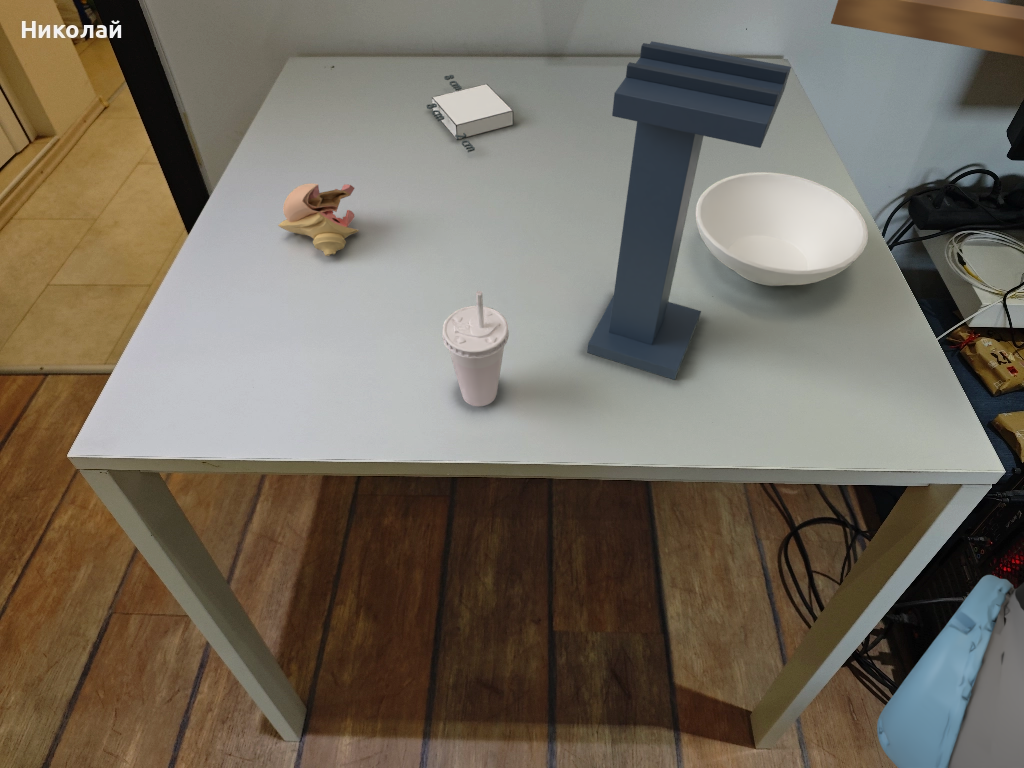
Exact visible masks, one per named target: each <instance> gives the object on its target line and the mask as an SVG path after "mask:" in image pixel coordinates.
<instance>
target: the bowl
mask: <svg viewBox="0 0 1024 768" xmlns="http://www.w3.org/2000/svg"><path fill="white" fill-rule="evenodd" d="M695 222H696V227H697V229H698V233H699V234H700V235H699V236H700V238H701V239H702V241H703V243H704V244H705V246H706V247H707V249H708V250H709V252H710V253H711V255H712V256H714V258H716V259H717V261H719V262H720V263H721V264H723V265H724V266H726V267H727V268H728V269H730V270H732V271H734V272H735V273H736V274H738V275H739V276H740V277H742V278H744V279H746V280H747V281H750V282H753V283H755V284H759V285H762V286H769V287H770V286H771V287H782V286H802V285H809V284H814V283H818V282H821V281H823V280H827V279H829V278H832V277H834V276H836V275H838V274H839V273H841V272H843V271H845V270H846V269H848V268H849V267H850V266H851V265H852V264H853V263H854V262H855V261H856V260H857V259H858V258H860V256H861V255H862V254H863V252H864V250H865V248H866V246H867V245H868V241H869V240H868V239H869V230H868V226H867V222H866V221H865V219H864V217H863V215H862V214H861V212H860V211H859V209H858V208H856V206H855V205H854V204H853V203H852V202H851V201H849V200H848V199H847V198H845V197H844V195H841V194H840V193H838V192H836V191H835V190H833V189H832V188H830V187H828V186H826V185H824V184H821V183H819V182H816V181H814V180H811V179H809V178H808V179H807V178H804V177H801V176H797V175H792V174H788V173H779V172H769V171H765V172H764V171H763V172H761V171H759V172H757V171H756V172H747V173H746V172H745V173H738V174H734V175H731V176H728V177H724V178H722V179H720V180H718V181H716V182H714V183H713V184H711V185H710V186H709V187H707V188H706V189H705V190H704V191H703V192H702V193H701V195H700V196H699V198H698V200H697V203H696V205H695Z"/></svg>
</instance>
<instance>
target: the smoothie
mask: <svg viewBox="0 0 1024 768" xmlns="http://www.w3.org/2000/svg"><path fill="white" fill-rule="evenodd" d="M475 296H476V297H475V298H476V305H469V306H464V307H462V308H459V309H457V310H454V311H453V312H451V314H449V315H448V316H447V318H446V319H445V320H444V322H443V325H442V338H441V339H442V341H443V344H444V346H445V347H446V348H447V350H448V351H449V356H450V357H451V362H452V365H453V368H454V372H455V375H456V379H457V382H458V386H459V389H460V392H461V396H462V399H463V400H464V401H465V402H466V404H468V405H470V406H472V407H485V406H489V405H490V404H492V403H493V402H494V401H495V400H496V398H497V396H498V390H499V389H498V388H499V382H500V375H501V370H502V369H501V368H502V362H503V358H504V357H503V356H504V350H505V346H506V344H507V343H508V340H509V336H510V331H509V323H508V320H507V319H506V317H505V316H504V315H503V314H502V313H501V312H500V311H498V310H497V309H494V308H493V307H492V308H491V307H489V306H485V305H484V302H483V299H484V298H483V291H481V290H477V291H476V292H475Z"/></svg>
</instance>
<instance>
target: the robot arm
mask: <svg viewBox="0 0 1024 768" xmlns="http://www.w3.org/2000/svg"><path fill="white" fill-rule="evenodd" d="M876 733H877V734H876V735H877V738H878V742H879V744H880V747H881V748H882V750H883V752H884V753H885V755H886V756H887V757H888V759H889V760H890V761H891V762H892V763H893V764H894V766H896V767H897V768H1024V581H1023V582H1022V583H1021V584H1019V586H1018V587H1017V588H1015V587H1014V584H1012V583H1011V582H1010V580H1008V579H1006V578H999V577H997V576H996V575H992V574H986V575H984V576H983V577H981V578H980V580H979V581H978V582H977V583H976V585H975V586H974V587H973V588H972V590H970V593H969V594H968V595H967V597H966V598H964V600H963V602H962V603H961V605H960V606H959V607H958V608H957V610H956V611H955V612H954V614H953V615H952V617H950V619H949V621H948V622H947V623H946V625H945V626H944V627H943V628H942V630H941V631H940V632H939V633H938V635H937V636H936V637H935V639H934V640H933V641H932V642H931V644H930V645H929V646H928V647H927V649H926V651H925V652H924V653H923V655H922V656H921V657H920V659H919V660H918V662H917V663H916V664H915V665H914V667H913V668H912V669H911V670H910V672H909V673H908V675H907V676H906V678H905V679H904V680H903V681H902V683H901V684H900V685H899V687H898V688H897V690H896V691H895V693H894V694H893V695H892V696H891V698H890V699H889V701H888V702H887V703H886V704H885V706H884V707H883V709H882V711H881V712H880V714H879V716H878V719H877V723H876Z"/></svg>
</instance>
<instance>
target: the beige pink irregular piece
mask: <svg viewBox="0 0 1024 768" xmlns="http://www.w3.org/2000/svg"><path fill="white" fill-rule="evenodd" d="M354 191H355V186H353V185H351V184H345V183H344V184H343V185H342V186H341V189H338V188H335V189H331V190H327V191H321V192H320V188H319V184H318V183H304V184H300V185H298V186H296V187H295V188H293V190H291V191H290V192H289V194H288V195H287V197H286V198H285V200H284V202H283V206H282V207H283V208H282V209H283V210H282V212H283V215H284V217H285V219H284V220H283V221H281V222H280V223H278V224H277V227H279V228H281V229H283V230H285V231H287V232H290V233H293V234H298V235H303V236H309V237H310V238H312V239H313V240H312V244H313V245H314V248H315V249H316V250H318V251H321V252H323V254H324V256H325V257H330V256H332V255H336V254H337V252H338V251H341V250H343V249H345V245H346V244H347V241H346V240H345V239H346V238H348V237H349V236H351V235H354V234H356V233H359V232H360V230H359V229H356V228H352V227H349V226H350V225H351V223H352V221H354V219H355V213H354V212H353V211H352V210H350V209H347V210H346V213H345V216H342V218H341V217H337V216H336V214H334V212H335V213H337V212H338V209H339V206H340V203H341V200H342V199H345V198H347V197H350V196H351V195H352V193H353V192H354Z"/></svg>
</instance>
